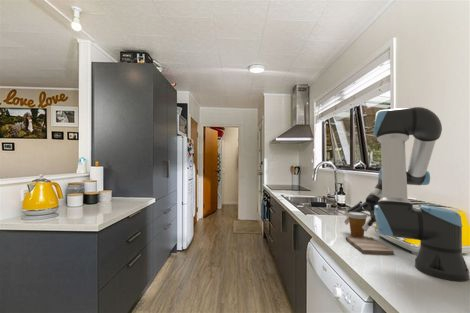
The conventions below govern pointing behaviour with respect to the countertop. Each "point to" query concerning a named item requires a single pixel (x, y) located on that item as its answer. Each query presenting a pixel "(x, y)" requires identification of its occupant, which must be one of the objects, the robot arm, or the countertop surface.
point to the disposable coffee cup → (357, 223)
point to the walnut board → (369, 245)
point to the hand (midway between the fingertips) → (354, 226)
